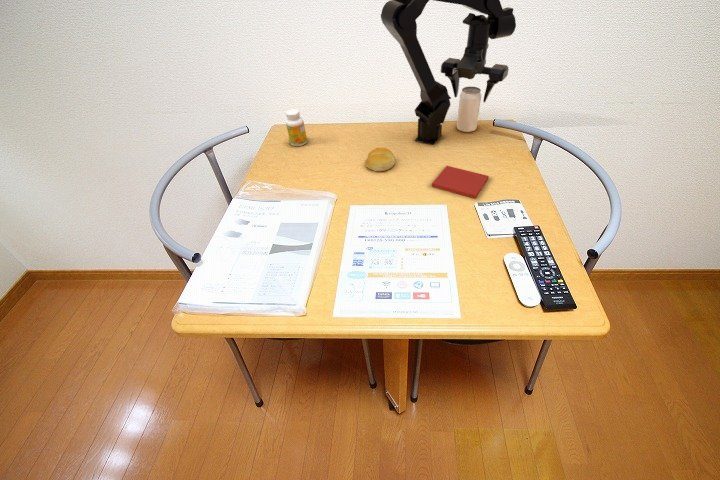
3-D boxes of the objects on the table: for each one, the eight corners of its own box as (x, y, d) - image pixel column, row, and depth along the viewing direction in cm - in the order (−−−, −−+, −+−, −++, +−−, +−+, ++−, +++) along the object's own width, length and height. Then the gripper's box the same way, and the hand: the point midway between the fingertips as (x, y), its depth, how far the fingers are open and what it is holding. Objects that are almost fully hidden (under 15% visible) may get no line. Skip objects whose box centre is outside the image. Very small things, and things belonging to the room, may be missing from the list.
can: (476, 133, 116) (482, 94, 107) (455, 132, 117) (459, 93, 108) (476, 124, 120) (482, 86, 112) (456, 123, 121) (461, 85, 113)
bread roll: (363, 171, 102) (362, 158, 99) (369, 155, 108) (369, 143, 105) (392, 173, 101) (392, 160, 98) (397, 157, 107) (397, 144, 104)
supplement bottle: (287, 145, 115) (279, 114, 108) (296, 137, 118) (289, 107, 111) (301, 147, 113) (295, 116, 106) (310, 139, 117) (304, 109, 110)
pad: (431, 186, 96) (431, 183, 95) (446, 168, 102) (446, 165, 101) (475, 198, 91) (475, 195, 90) (488, 179, 97) (488, 175, 96)
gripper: (434, 45, 99) (431, 103, 110) (502, 53, 92) (491, 114, 104) (450, 35, 106) (445, 91, 117) (514, 42, 99) (502, 101, 110)
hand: (469, 99), depth 112 cm, fingers open, 9 cm apart
